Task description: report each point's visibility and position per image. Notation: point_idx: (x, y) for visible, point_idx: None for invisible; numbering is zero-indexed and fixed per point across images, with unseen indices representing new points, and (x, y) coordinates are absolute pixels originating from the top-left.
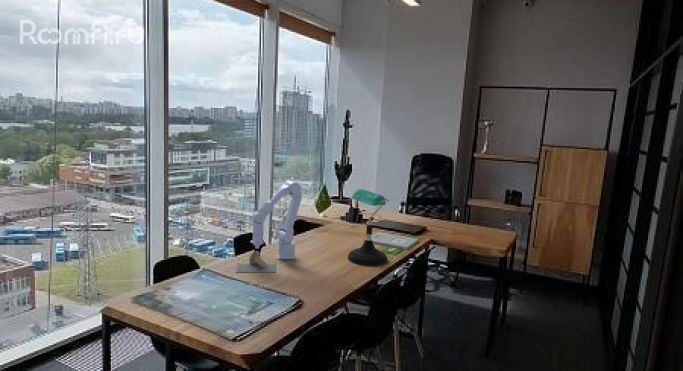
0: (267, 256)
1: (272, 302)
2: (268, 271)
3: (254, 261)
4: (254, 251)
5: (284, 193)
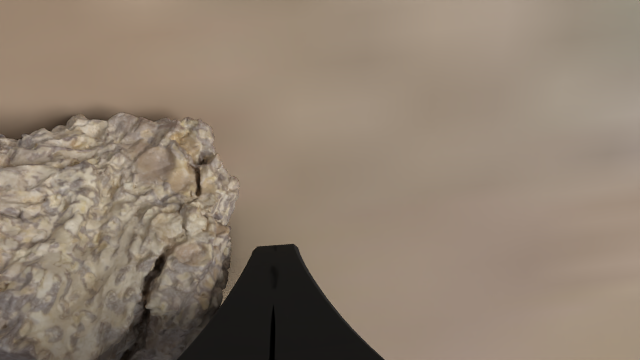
0: (503, 353)
1: None
2: None
3: None
4: (196, 340)
5: None
